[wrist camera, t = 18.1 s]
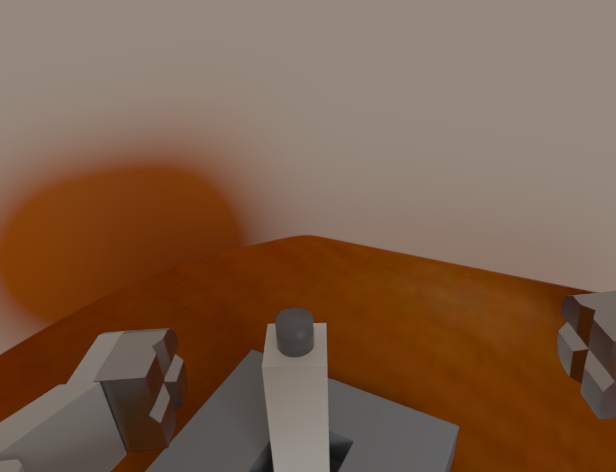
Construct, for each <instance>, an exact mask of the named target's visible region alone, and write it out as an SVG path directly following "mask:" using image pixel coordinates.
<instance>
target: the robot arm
mask: <svg viewBox="0 0 616 472" xmlns="http://www.w3.org/2000/svg"><path fill="white" fill-rule="evenodd" d="M561 314H562V315H563V317H564V318H565V319H566V320H567V323H566V324H565V325H564V326H563V327H562V328H561V329H560V330H559V331H558V341H557V347H558V353H559V358H560V361H561V363H562V366H563V368H564V369H565V371H566V372H567V374H568V376H569V377H571V378H572V379H574V380H576V381H578V382H580V383H581V384H582V386H581V395H582V396H583V398H584V399H585V400H586V402H587V403H588V405H589V406H590V408H591V409H592V411H593V412H594V413H595V415H596V416H597V418H598V419H606V418H616V291H612V292H602V293H592V294H581V295H571V296H566V297H565V299H564V301H563V303H562V309H561ZM178 345H179V343H178V340H177V337H176V333H175V331H173V330H172V329H171V328H167V329H150V330H134V331H126V332H125V331H119V332H108V333H103V334H100V335H99V336H98V337H97V338H96V340H95V341H94V343H93V344H92V346H91V347H90V349H89V350H88V352H87V354H86V355H85V357H84V358H83V360H82V361H81V363H80V364H79V366H78V367H77V369H76V370H75V372H74V373H73V375H72V376H71V378H70V379H69V381H68V382H67V384H63V385H58V386H56V387H55V388H53V389H52V390H50V391H49V392H47V393H45V394H44V395H42V396H41V397H39V398H38V399H36V400H35V401H33V402H31V403H30V404H28V405H27V406H25V407H24V408H22V409H21V410H19V411H17V412H16V413H14V414H13V415H11V416H10V417H8V418H7V419H5V420H4V421H2V422H0V472H111V471H112V470H113V468H114V467H115V466H116V465H117V464H118V463H119V462H120V461H121V460H122V459H123V458H124V457H125V456H126V455H127V453H126V452H133V451H143V450H154V449H164V448H169V445H170V442H171V439H172V436H173V433H174V430H175V427H176V424H177V419H176V416H175V412H176V411H177V410H178V409H179V408H180V407H181V406H182V405H183V403H184V399H185V396H186V389H187V375H186V368H185V364H184V361H183V360H182V359H181V358H179V357H178V356H177V355H176V354H175V353H176V350H177V348H178Z"/></svg>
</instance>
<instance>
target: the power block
mask: <svg viewBox="0 0 616 472" xmlns="http://www.w3.org/2000/svg"><path fill="white" fill-rule="evenodd" d="M263 355H264V354H263V353H260V352H258V351H255V350H251V351H250V352H249V354H248V355H247V356H246V357H245V358H244V359H243V360H242V362H241V363H240V364H239V365H238V366H237V367H236V368H235V369H234V371H233V372H232V373H231V374H230V375H229V376H228V377H227V379H226V380H225V381H224V382H223V383H222V384H221V385H220V387H219V388H218V389H217V390H216V391H215V392H214V393H213V395H212V396H211V397H210V398H209V399H208V400H207V401H206V403H205V404H204V405H203V406H202V407H201V408H200V409H199V411H198V412H197V413H196V414H195V415H194V416H193V417H192V419H191V420H190V421H189V422H188V423H187V424H186V425H185V427H184V428H183V429H182V430H181V431H180V432H179V433H178V435H177V436H176V437H175V438H174V439H173V440H172V441H171V443H170V445H169V448H165V449H164V451H163V452H162V453H161V454H160V455H159V456H158V457H157V459H156V460H155V461H154V462H153V463H152V464H151V465H150V466H149V468H148V469H147V470H146V471H145V472H274V467H273V459H272V450H271V442H270V433H269V425H268V416H267V407H266V399H265V390H264V382H263V373H262V362H263ZM328 418H329V461H330V472H449V471H450V468H451V464H452V461H453V458H454V452H455V447H456V441H457V436H458V430H459V426H457V425H454V424H451V423H449V422H446V421H443V420H441V419H438V418H435V417H433V416H430V415H427V414H425V413H422V412H419V411H416V410H414V409H411V408H408V407H406V406H403V405H400V404H398V403H395V402H392V401H390V400H387V399H384V398H382V397H379V396H376V395H373V394H371V393H368V392H365V391H363V390H360V389H357V388H355V387H352V386H349V385H347V384H344V383H341V382H338V381H336V380H333V379H330V378H328Z"/></svg>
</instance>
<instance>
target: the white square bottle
mask: <svg viewBox="0 0 616 472" xmlns="http://www.w3.org/2000/svg"><path fill="white" fill-rule="evenodd" d="M262 373H263V382H264V390H265V399H266V407H267V416H268V425H269V433H270V442H271V450H272V459H273V467H274V472H330V461H329V418H328V375H327V332H326V323H313V316H312V314H311V313H310V312H308V311H307V310H305V309H301V308H289V309H286V310H283V311H282V312H280V313H279V314H278V315H277V316H276V318H275V324H268V326H267V333H266V340H265V348H264V355H263V362H262Z"/></svg>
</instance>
